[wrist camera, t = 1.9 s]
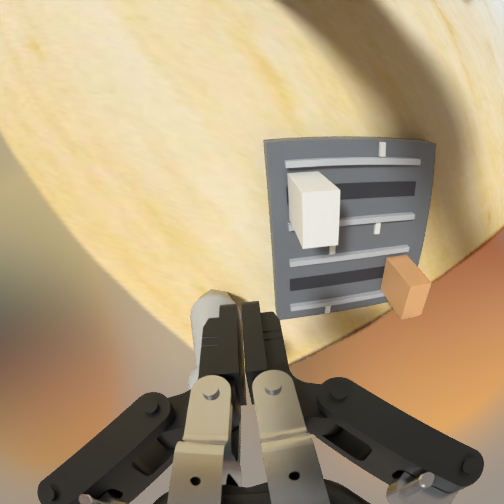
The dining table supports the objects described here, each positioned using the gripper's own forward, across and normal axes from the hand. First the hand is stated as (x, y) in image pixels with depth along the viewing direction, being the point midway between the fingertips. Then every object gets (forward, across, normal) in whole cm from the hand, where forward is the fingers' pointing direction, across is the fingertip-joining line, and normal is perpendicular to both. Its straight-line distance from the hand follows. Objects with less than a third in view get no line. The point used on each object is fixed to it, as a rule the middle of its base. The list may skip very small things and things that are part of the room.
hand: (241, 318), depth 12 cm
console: (+17, -12, +5) cm, 21 cm away
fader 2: (+15, -17, +10) cm, 25 cm away
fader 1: (+15, -6, 0) cm, 16 cm away
